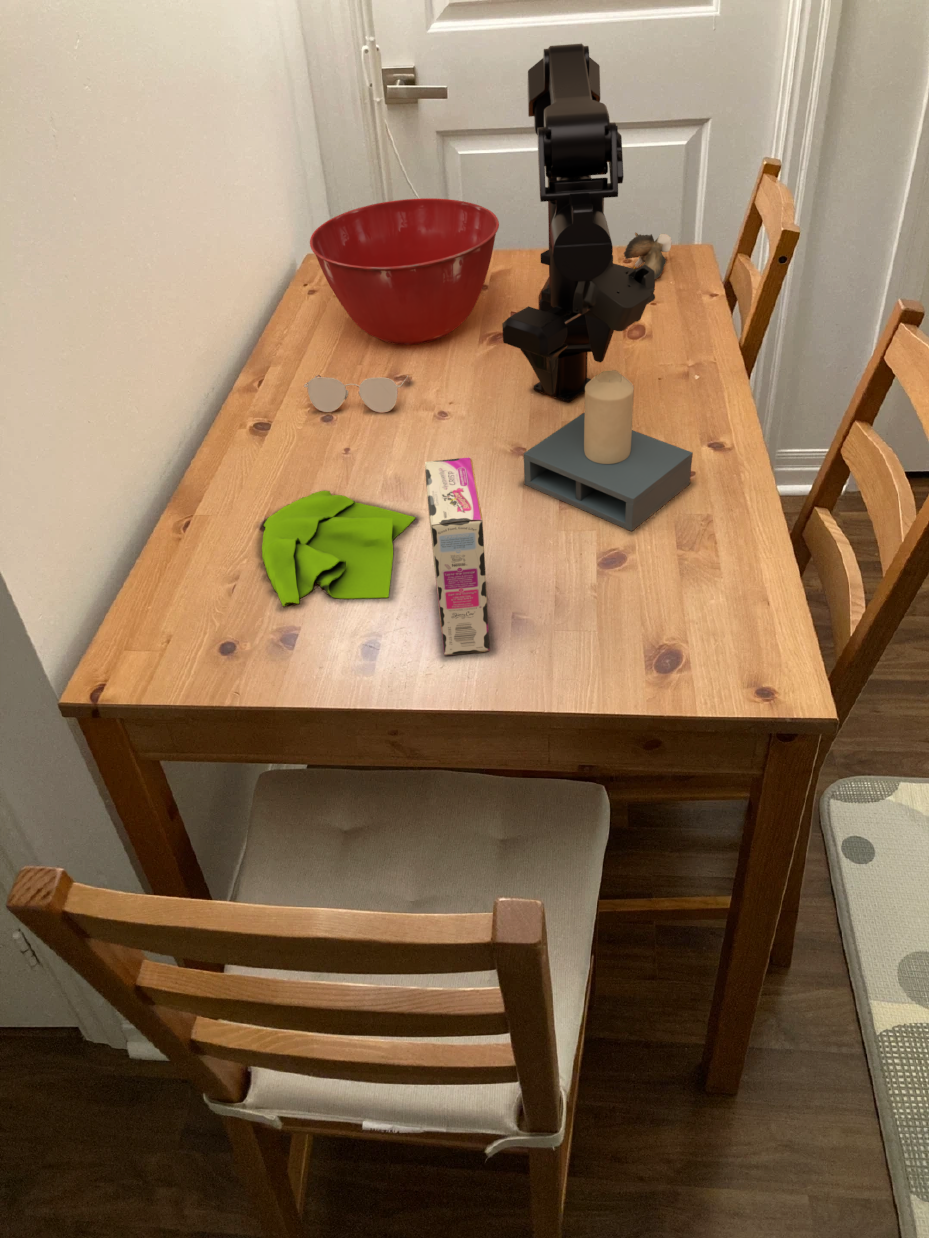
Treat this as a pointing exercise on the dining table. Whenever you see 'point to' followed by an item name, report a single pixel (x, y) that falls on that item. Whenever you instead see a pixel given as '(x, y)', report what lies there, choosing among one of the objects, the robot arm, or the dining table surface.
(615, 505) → the shelf
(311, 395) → the sunglasses
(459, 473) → the candy bar box
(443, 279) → the mixing bowl
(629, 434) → the candle
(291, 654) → the dining table surface
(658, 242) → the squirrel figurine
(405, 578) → the dining table surface
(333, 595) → the cloth
